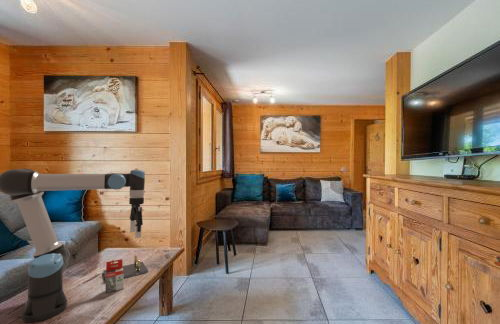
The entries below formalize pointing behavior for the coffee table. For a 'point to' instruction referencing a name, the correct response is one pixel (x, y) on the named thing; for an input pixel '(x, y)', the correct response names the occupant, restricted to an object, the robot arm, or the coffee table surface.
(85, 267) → the coffee table surface
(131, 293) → the coffee table surface
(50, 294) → the robot arm
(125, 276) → the plate
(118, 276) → the ink box
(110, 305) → the coffee table surface
